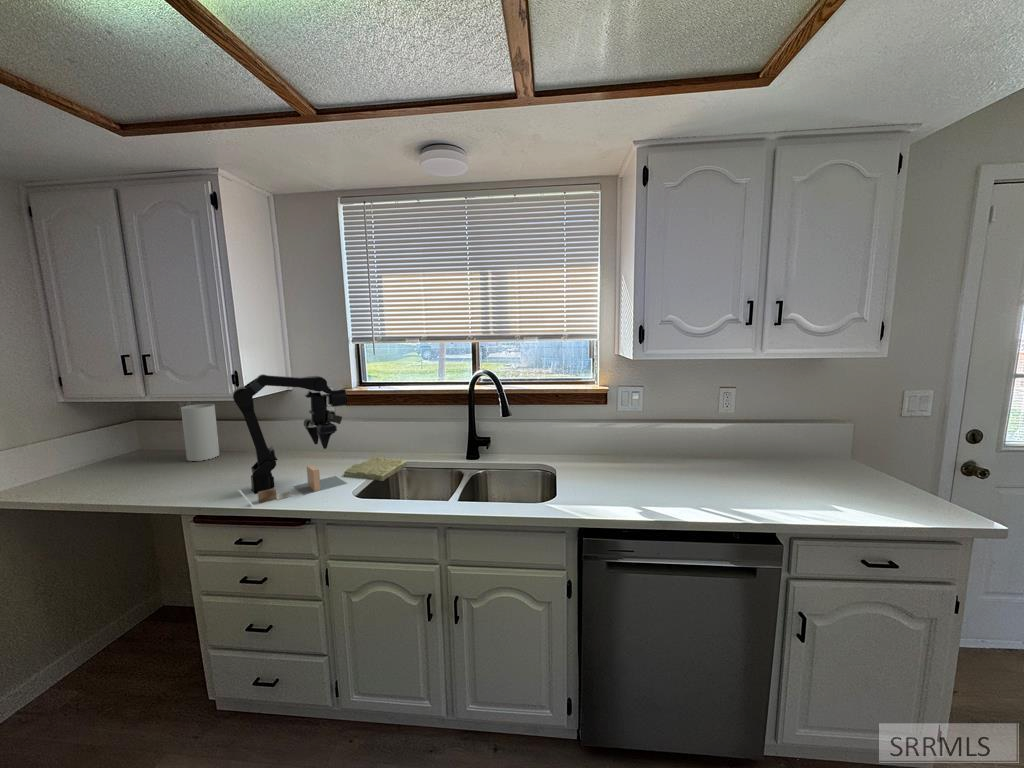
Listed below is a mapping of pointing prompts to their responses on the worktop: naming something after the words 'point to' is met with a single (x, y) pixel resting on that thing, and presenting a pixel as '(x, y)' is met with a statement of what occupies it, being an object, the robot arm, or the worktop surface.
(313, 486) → the terracotta tile
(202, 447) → the cylinder vase
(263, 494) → the grey-capped brown block
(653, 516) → the worktop surface
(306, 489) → the slate mat
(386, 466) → the decorative tile
